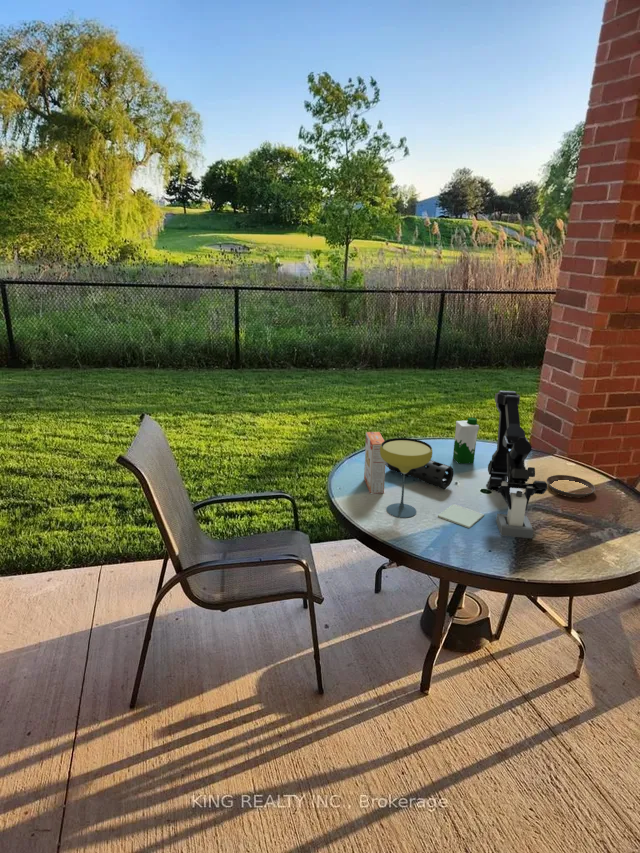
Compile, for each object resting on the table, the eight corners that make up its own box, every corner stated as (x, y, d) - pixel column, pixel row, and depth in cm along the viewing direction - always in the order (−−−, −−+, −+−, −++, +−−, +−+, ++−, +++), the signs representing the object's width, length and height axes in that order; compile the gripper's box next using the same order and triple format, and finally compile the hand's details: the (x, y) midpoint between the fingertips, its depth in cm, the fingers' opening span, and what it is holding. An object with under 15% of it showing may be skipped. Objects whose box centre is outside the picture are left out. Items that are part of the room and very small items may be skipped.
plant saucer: (571, 503, 198) (573, 496, 197) (535, 485, 213) (537, 478, 212) (603, 496, 205) (605, 489, 204) (567, 478, 220) (568, 472, 219)
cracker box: (363, 479, 215) (365, 431, 208) (377, 479, 216) (380, 431, 209) (368, 494, 202) (371, 443, 195) (384, 493, 202) (387, 443, 196)
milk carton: (476, 464, 233) (481, 421, 226) (456, 464, 232) (461, 422, 225) (468, 456, 241) (473, 415, 235) (450, 457, 240) (454, 416, 234)
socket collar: (496, 521, 183) (497, 513, 182) (525, 523, 182) (526, 516, 181) (500, 535, 174) (502, 527, 173) (532, 538, 173) (533, 530, 172)
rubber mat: (453, 505, 194) (453, 503, 194) (484, 515, 187) (484, 514, 187) (437, 516, 185) (437, 515, 185) (469, 528, 178) (469, 526, 178)
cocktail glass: (370, 517, 184) (374, 451, 176) (383, 496, 200) (387, 434, 192) (421, 527, 178) (427, 459, 170) (430, 504, 194) (436, 442, 186)
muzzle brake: (440, 494, 204) (442, 469, 200) (382, 473, 222) (384, 450, 218) (452, 486, 210) (455, 463, 207) (395, 467, 228) (397, 445, 225)
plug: (506, 521, 180) (511, 488, 176) (519, 522, 179) (524, 489, 175) (508, 527, 176) (513, 494, 172) (522, 529, 175) (527, 495, 171)
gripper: (492, 455, 175) (493, 499, 168) (551, 459, 172) (554, 504, 166) (486, 467, 185) (487, 510, 178) (541, 472, 182) (544, 515, 175)
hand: (517, 509), depth 174 cm, fingers closed on plug, 4 cm apart
